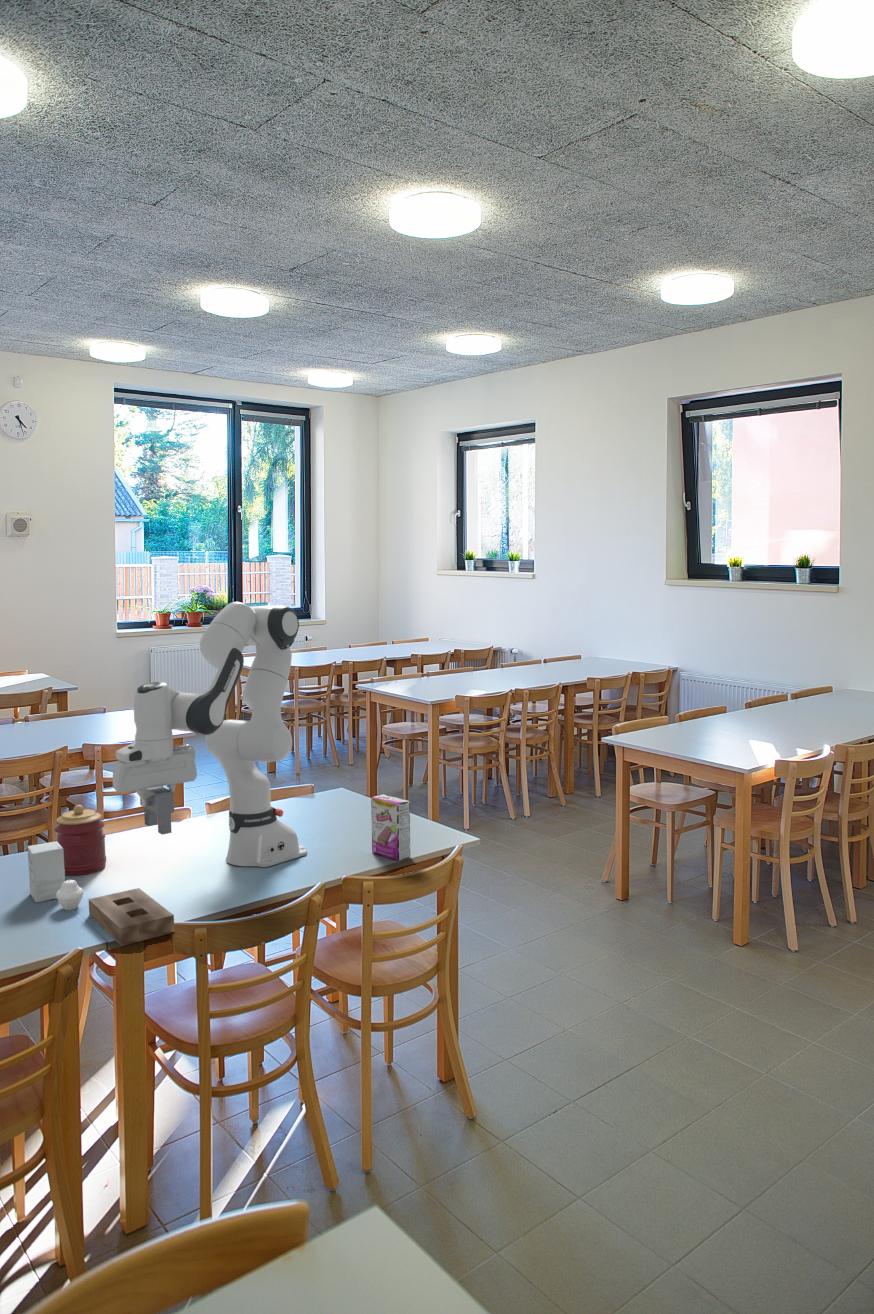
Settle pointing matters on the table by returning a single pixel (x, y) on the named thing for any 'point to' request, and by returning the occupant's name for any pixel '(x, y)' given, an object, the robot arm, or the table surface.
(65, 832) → the canister
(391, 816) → the candy bar box
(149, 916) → the wooden socket board
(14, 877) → the table surface
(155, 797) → the grey u-shaped block
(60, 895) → the muffin
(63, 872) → the supplement box
